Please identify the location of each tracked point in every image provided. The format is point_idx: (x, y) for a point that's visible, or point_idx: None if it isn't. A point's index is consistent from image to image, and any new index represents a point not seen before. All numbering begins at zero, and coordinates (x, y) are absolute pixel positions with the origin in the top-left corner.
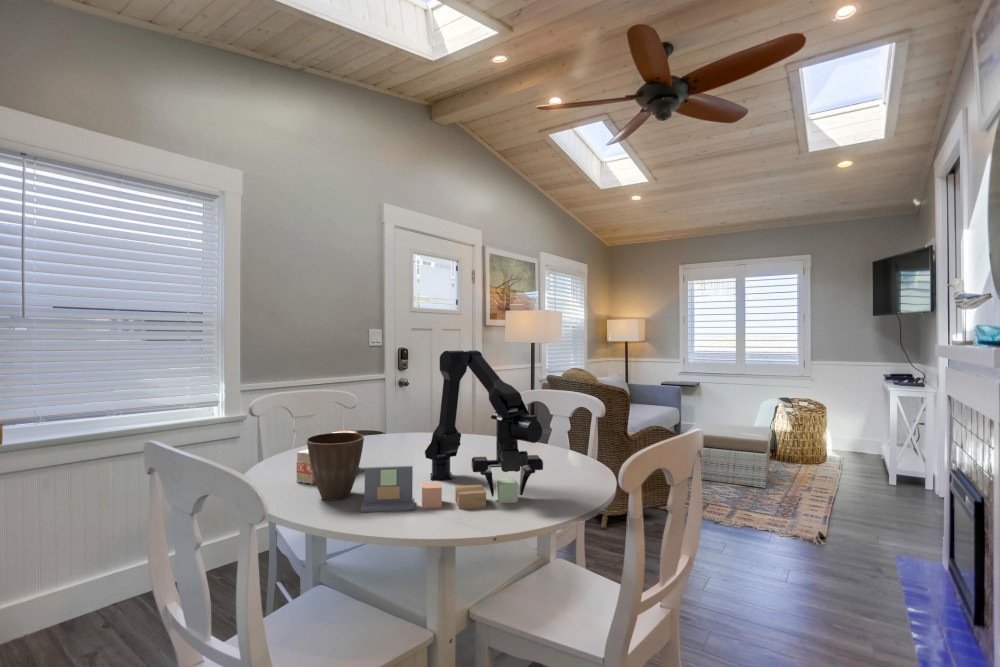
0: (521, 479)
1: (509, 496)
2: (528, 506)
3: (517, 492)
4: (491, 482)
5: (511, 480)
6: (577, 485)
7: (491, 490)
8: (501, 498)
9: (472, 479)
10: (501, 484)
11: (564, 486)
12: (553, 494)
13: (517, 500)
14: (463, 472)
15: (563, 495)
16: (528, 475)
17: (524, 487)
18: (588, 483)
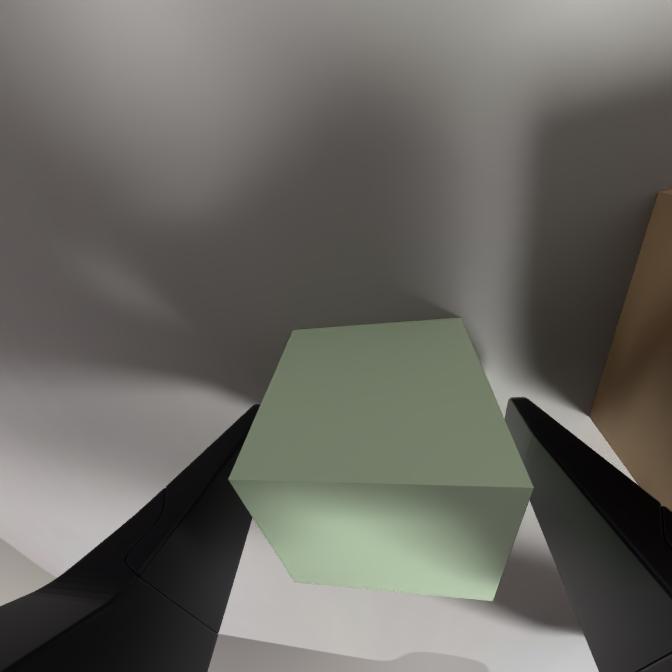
0: (206, 553)
1: (359, 357)
2: (180, 219)
3: (270, 386)
4: (656, 547)
5: (323, 555)
6: (56, 506)
7: (570, 440)
8: (443, 342)
9: (519, 604)
10: (483, 482)
11: (101, 505)
12: (102, 435)
13: (291, 338)
14: (531, 642)
15: (43, 419)
16: (25, 605)
17: (202, 453)
18: (28, 514)
